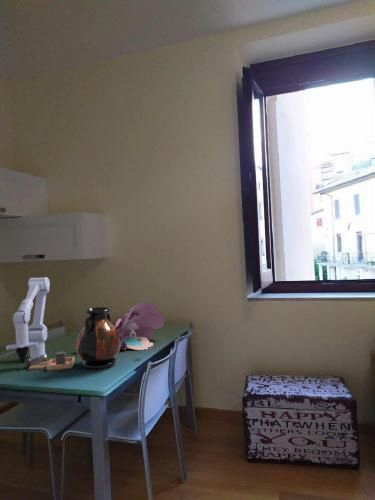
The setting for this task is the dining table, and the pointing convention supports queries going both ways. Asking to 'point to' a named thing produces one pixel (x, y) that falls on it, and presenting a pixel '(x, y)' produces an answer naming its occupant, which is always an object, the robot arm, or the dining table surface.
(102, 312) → the amphora vase
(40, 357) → the crank lever
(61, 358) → the stop block
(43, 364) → the crank base
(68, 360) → the tray
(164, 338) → the dining table surface
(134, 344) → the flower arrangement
